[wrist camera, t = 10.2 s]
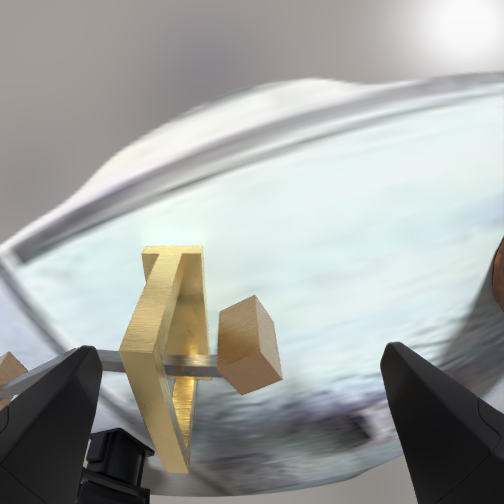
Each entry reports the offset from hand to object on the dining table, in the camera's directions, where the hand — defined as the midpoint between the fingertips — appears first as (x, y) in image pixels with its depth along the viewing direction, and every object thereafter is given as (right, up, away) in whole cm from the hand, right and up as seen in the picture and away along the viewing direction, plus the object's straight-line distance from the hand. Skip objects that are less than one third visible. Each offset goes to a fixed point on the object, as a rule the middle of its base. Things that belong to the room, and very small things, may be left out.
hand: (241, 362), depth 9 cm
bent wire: (-13, -6, +17) cm, 22 cm away
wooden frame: (-5, -2, +15) cm, 16 cm away
